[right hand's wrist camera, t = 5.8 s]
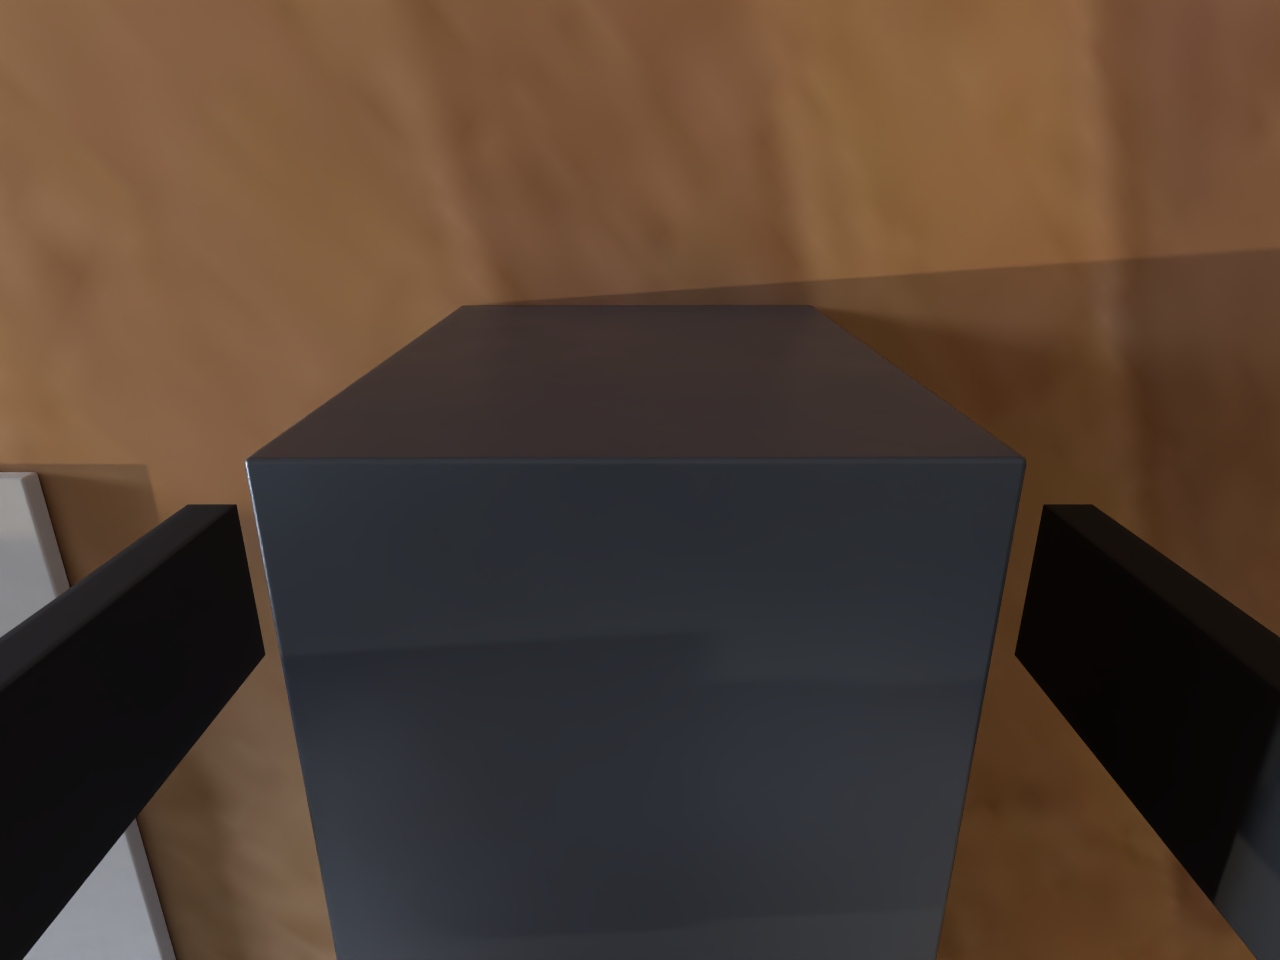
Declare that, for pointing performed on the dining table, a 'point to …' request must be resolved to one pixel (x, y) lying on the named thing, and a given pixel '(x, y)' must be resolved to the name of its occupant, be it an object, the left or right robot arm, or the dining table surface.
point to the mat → (122, 882)
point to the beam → (636, 637)
